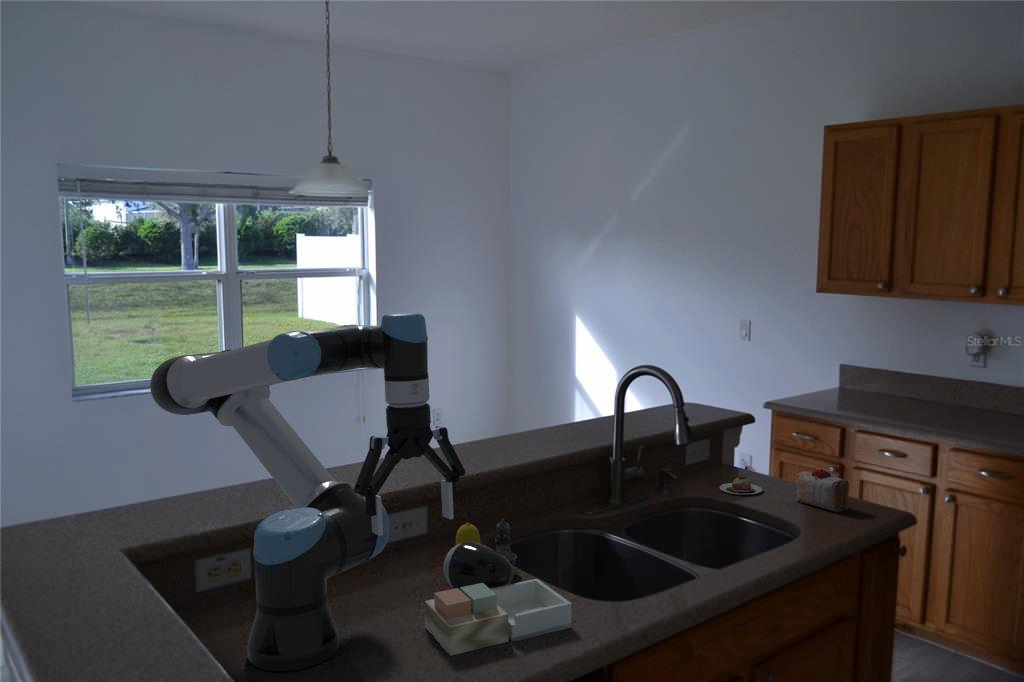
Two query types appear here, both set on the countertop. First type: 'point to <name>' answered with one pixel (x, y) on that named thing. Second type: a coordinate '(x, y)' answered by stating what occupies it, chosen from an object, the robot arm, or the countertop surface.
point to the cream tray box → (467, 629)
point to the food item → (822, 490)
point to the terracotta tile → (452, 603)
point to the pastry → (741, 486)
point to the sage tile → (480, 597)
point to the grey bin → (533, 609)
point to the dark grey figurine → (505, 543)
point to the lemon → (467, 534)
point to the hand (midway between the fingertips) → (413, 525)
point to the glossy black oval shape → (476, 566)
